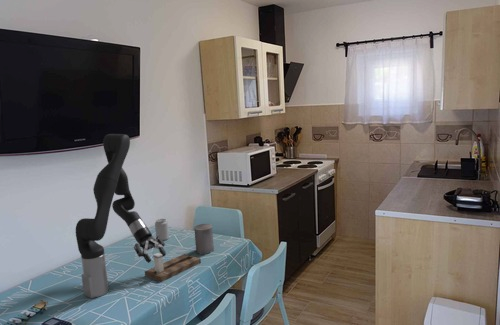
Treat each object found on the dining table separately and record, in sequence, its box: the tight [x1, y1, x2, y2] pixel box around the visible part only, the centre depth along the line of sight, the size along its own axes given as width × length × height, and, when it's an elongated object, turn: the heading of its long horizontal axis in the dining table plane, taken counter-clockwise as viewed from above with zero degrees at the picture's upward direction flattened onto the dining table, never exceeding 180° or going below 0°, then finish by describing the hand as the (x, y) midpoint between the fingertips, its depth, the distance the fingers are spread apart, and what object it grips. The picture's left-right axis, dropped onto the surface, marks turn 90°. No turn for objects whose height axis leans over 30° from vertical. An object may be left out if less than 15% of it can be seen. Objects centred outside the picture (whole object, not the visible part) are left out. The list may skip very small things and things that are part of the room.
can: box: [154, 218, 170, 242], centre depth 233 cm, size 8×8×12 cm
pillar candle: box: [193, 223, 215, 255], centre depth 210 cm, size 10×10×15 cm
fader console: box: [144, 253, 202, 283], centre depth 189 cm, size 25×12×2 cm, turn 141°
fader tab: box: [152, 252, 164, 274], centre depth 182 cm, size 2×4×9 cm
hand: (157, 258), depth 182 cm, fingers open, 8 cm apart
